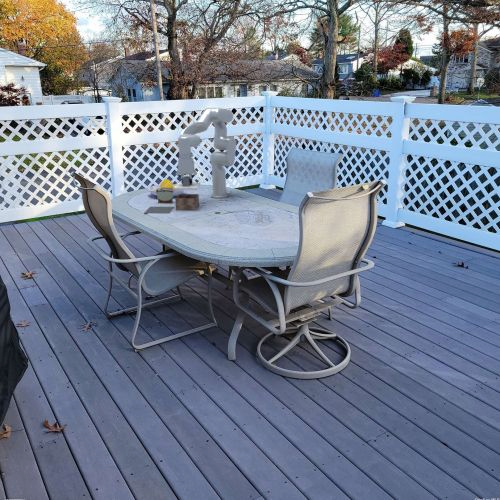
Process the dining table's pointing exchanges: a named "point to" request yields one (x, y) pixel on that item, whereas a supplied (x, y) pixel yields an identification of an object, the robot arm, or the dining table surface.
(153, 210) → the rubber mat
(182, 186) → the lid
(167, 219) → the dining table surface
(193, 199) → the storage box
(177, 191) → the fruit bowl
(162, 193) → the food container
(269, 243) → the dining table surface
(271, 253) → the dining table surface
